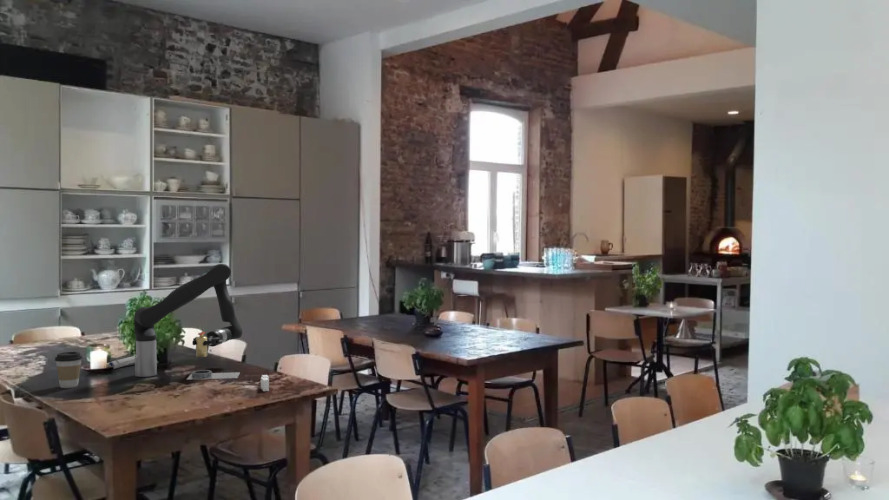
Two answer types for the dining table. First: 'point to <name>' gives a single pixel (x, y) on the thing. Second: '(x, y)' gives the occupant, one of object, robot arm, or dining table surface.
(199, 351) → the brass valve
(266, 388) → the napkin holder
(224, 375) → the manifold plate
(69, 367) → the coffee cup
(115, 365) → the grey long cylinder
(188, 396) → the dining table surface
